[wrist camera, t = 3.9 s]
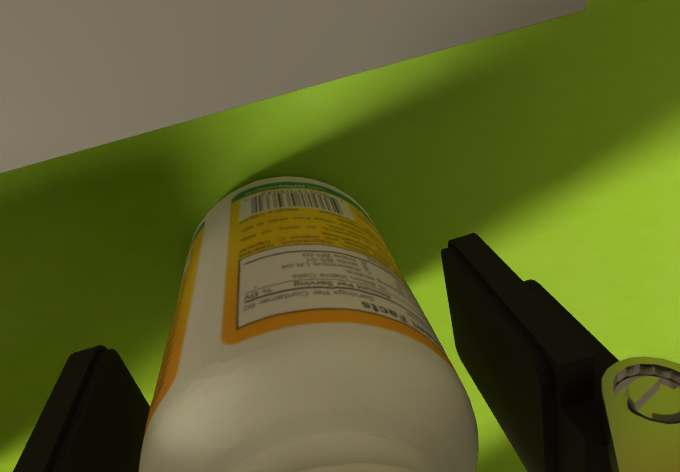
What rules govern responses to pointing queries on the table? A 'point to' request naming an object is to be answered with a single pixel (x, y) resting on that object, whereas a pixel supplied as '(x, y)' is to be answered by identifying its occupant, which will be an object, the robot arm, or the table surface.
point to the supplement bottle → (302, 348)
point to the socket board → (205, 57)
